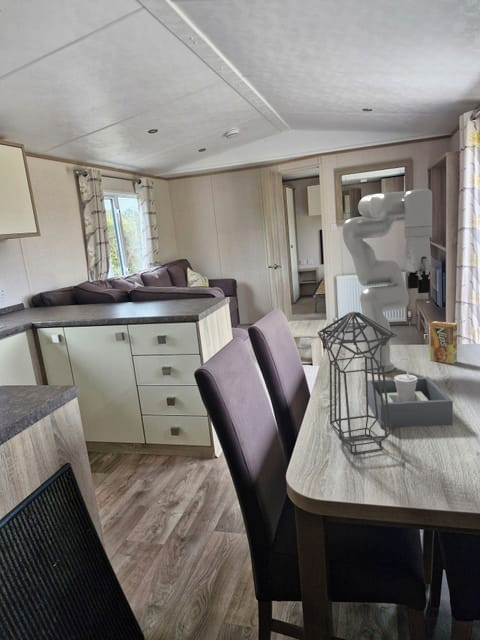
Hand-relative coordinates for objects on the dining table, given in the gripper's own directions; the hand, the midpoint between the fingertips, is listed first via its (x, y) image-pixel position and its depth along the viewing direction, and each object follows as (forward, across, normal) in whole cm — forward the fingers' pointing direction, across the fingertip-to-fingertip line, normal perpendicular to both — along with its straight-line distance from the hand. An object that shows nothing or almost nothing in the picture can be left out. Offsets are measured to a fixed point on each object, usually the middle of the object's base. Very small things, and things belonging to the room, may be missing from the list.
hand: (418, 290), depth 132 cm
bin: (+34, +11, -7) cm, 37 cm away
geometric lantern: (+34, +28, -24) cm, 50 cm away
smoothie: (+34, +11, -7) cm, 36 cm away
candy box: (+34, -34, +20) cm, 52 cm away
